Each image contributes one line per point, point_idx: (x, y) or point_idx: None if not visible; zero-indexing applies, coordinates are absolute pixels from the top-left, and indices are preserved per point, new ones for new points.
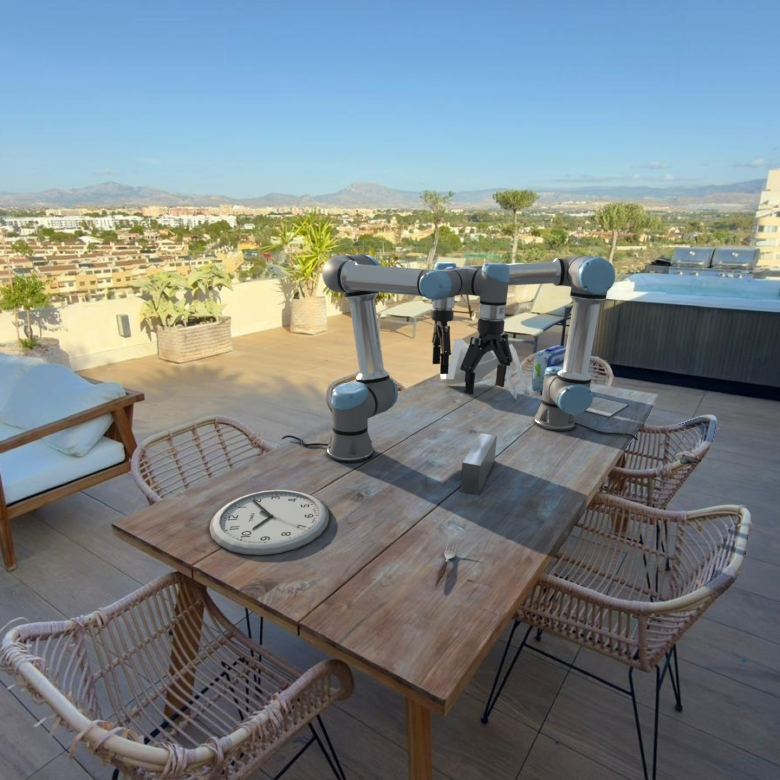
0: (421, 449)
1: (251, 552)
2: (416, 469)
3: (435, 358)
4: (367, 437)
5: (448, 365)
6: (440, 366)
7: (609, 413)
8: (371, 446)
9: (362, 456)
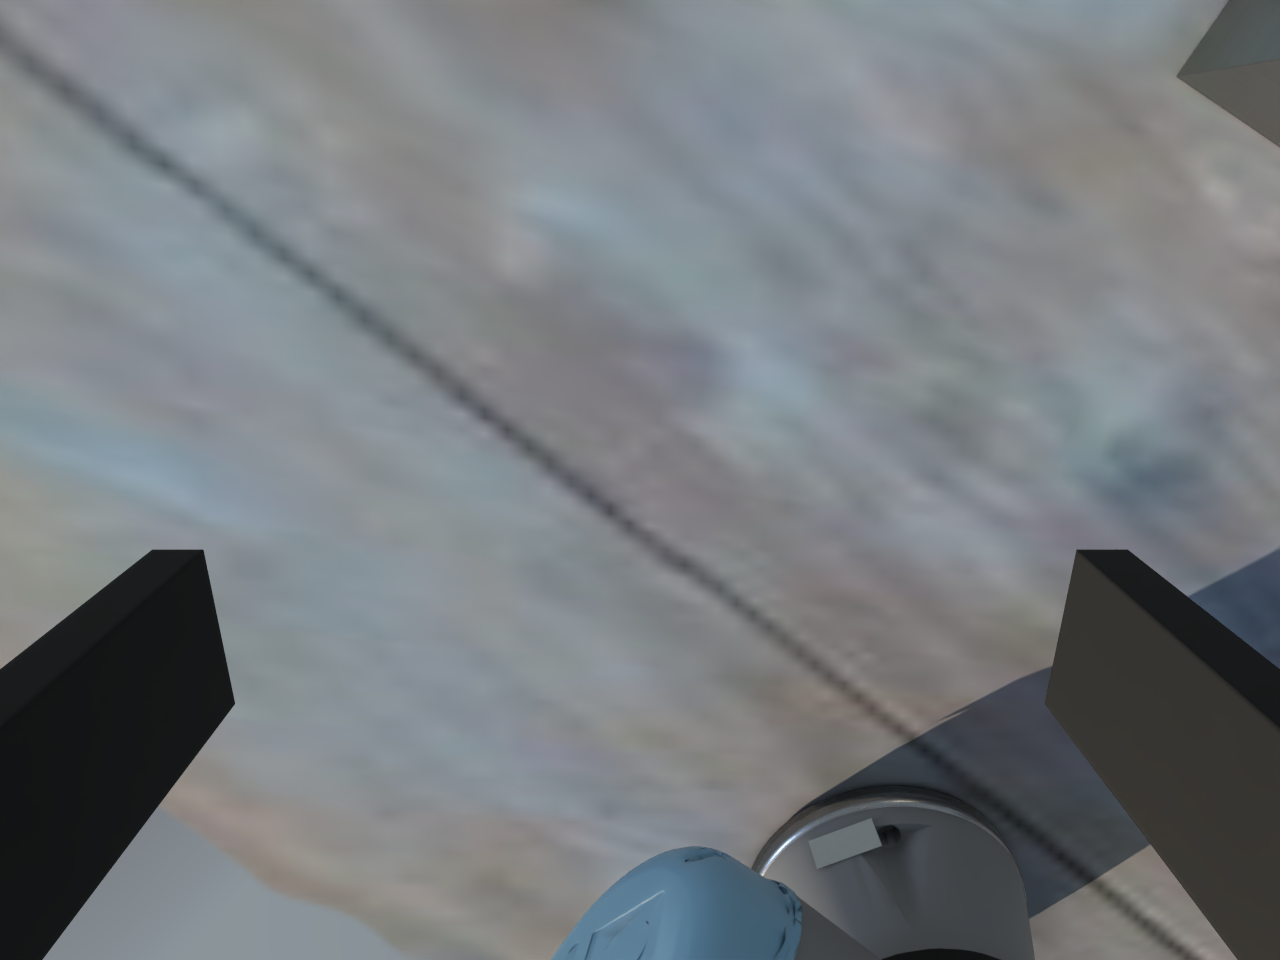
0: (900, 493)
1: None
2: (1201, 574)
3: (145, 742)
4: (979, 913)
5: (1274, 669)
6: (1164, 826)
7: None
8: (946, 835)
9: (1014, 863)
